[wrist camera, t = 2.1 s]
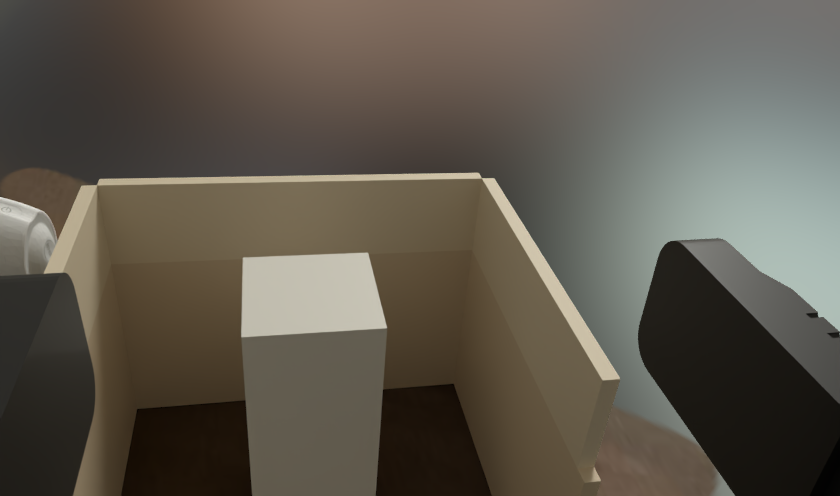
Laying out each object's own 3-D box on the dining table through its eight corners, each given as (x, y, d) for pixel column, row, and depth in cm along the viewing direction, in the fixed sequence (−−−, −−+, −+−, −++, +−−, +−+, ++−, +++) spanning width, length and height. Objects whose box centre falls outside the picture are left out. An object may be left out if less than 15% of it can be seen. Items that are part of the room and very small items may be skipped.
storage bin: (62, 710, 25) (-34, 450, 18) (126, 401, 37) (84, 179, 30) (553, 632, 28) (628, 392, 22) (461, 375, 41) (490, 172, 34)
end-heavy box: (256, 557, 30) (241, 337, 24) (255, 465, 34) (242, 257, 28) (372, 542, 31) (387, 328, 25) (358, 455, 35) (368, 252, 29)
